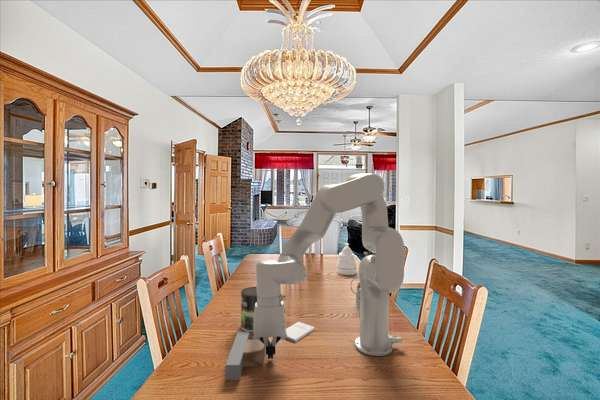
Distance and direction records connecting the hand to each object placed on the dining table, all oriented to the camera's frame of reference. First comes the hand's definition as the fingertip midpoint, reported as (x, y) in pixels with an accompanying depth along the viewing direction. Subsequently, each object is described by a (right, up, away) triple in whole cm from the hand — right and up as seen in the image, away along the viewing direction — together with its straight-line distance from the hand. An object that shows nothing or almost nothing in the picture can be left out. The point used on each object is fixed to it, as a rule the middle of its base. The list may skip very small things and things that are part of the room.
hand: (270, 356), depth 98 cm
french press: (+39, 0, +47) cm, 61 cm away
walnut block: (-5, -1, +1) cm, 5 cm away
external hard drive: (+8, -1, +19) cm, 21 cm away
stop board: (-10, -1, 0) cm, 10 cm away
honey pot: (+39, +3, +102) cm, 109 cm away
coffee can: (-9, 0, +24) cm, 25 cm away
